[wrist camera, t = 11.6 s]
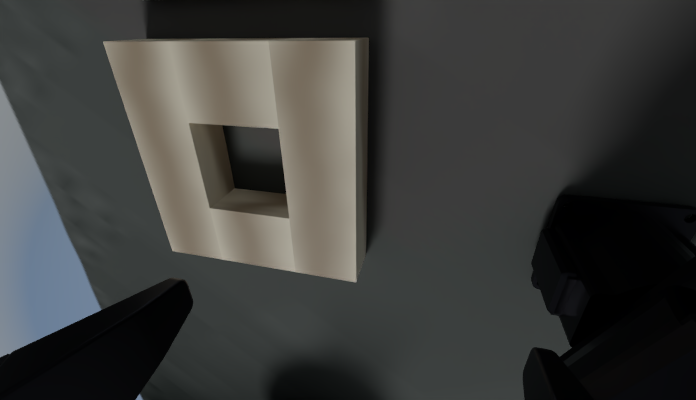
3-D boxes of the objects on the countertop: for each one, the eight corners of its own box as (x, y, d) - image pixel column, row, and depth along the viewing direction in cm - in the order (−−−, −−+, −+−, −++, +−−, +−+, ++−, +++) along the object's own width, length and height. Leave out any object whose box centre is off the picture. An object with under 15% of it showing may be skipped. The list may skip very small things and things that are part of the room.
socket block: (369, 37, 17) (355, 40, 15) (366, 254, 24) (356, 282, 21) (146, 38, 20) (102, 41, 18) (198, 229, 27) (172, 250, 24)
